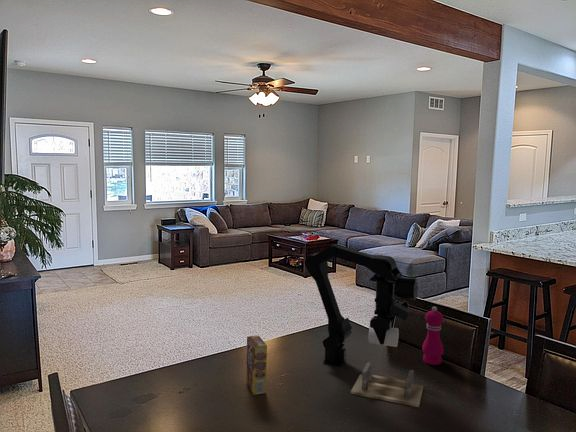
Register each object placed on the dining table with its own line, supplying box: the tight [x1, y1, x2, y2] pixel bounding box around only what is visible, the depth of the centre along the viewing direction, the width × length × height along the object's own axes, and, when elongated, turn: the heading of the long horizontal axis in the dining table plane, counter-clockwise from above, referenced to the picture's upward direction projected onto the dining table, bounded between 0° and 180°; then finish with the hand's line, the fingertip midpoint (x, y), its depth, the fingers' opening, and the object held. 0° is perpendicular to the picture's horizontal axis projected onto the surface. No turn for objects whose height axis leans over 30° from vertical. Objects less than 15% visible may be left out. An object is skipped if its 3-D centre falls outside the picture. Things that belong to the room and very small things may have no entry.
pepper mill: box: [421, 306, 444, 366], centre depth 159 cm, size 7×7×20 cm
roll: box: [367, 326, 400, 348], centre depth 149 cm, size 9×6×6 cm, turn 69°
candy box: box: [245, 334, 268, 396], centre depth 138 cm, size 9×4×15 cm, turn 20°
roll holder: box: [350, 362, 424, 408], centre depth 138 cm, size 20×12×6 cm, turn 68°
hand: (383, 340), depth 149 cm, fingers closed on roll, 6 cm apart
